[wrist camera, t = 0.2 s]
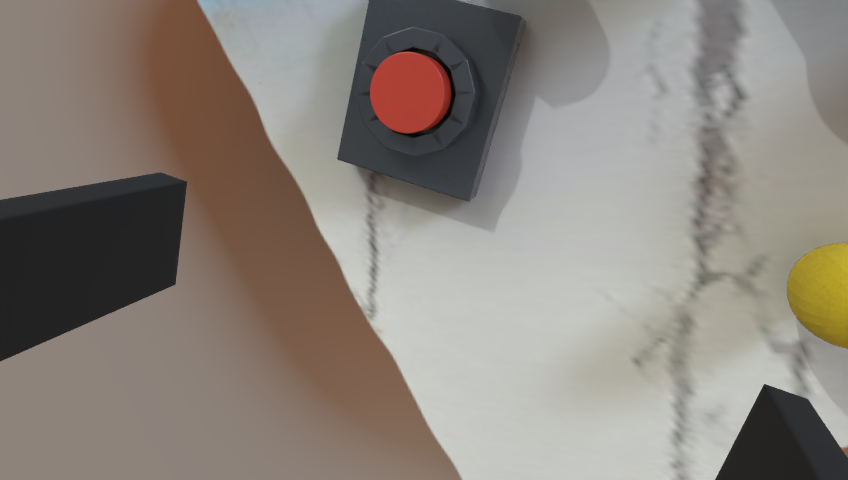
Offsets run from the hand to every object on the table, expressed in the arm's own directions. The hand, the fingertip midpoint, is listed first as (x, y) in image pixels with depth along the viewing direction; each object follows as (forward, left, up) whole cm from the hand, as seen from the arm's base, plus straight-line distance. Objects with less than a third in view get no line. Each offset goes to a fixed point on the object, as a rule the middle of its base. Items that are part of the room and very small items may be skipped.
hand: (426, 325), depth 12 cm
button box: (-3, -9, -28) cm, 29 cm away
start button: (-3, -9, -24) cm, 26 cm away
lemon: (+1, +18, -28) cm, 33 cm away
